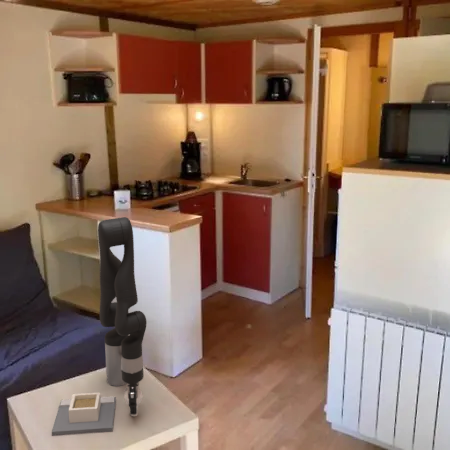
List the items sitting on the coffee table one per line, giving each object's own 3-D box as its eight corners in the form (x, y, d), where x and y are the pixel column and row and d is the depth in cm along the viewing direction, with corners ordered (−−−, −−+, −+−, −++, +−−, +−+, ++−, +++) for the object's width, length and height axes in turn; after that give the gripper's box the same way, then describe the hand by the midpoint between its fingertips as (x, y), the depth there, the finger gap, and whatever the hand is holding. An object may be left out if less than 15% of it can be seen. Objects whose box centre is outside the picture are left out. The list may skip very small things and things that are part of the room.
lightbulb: (134, 407, 189) (134, 381, 186) (146, 414, 186) (146, 388, 183) (121, 416, 185) (120, 389, 182) (133, 423, 181) (132, 396, 178)
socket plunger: (76, 403, 186) (76, 399, 185) (96, 402, 187) (96, 398, 186) (73, 415, 179) (73, 411, 179) (94, 413, 180) (94, 410, 180)
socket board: (61, 403, 191) (59, 388, 189) (116, 400, 194) (115, 385, 192) (51, 435, 174) (50, 419, 172) (112, 431, 176) (111, 414, 175)
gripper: (122, 356, 186) (124, 397, 191) (120, 378, 172) (121, 421, 177) (143, 355, 187) (144, 395, 192) (142, 376, 173) (144, 420, 178)
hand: (133, 407), depth 184 cm, fingers closed on lightbulb, 6 cm apart
